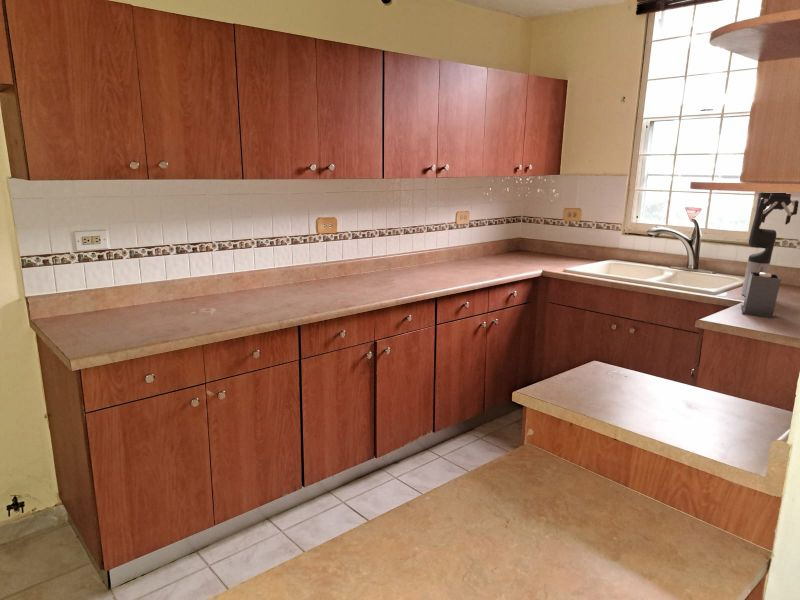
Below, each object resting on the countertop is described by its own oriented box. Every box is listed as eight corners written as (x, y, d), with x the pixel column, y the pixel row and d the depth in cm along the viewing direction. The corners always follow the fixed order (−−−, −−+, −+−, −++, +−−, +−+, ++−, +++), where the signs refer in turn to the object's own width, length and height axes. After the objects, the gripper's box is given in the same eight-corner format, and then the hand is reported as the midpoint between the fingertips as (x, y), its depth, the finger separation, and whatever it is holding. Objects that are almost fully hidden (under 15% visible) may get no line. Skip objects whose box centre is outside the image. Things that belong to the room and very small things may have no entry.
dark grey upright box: (741, 307, 264) (748, 271, 259) (771, 312, 259) (779, 274, 254) (742, 314, 253) (750, 276, 249) (774, 318, 248) (783, 279, 244)
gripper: (801, 186, 247) (792, 223, 252) (762, 183, 253) (755, 220, 258) (803, 187, 240) (794, 226, 245) (764, 185, 247) (756, 222, 251)
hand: (774, 223), depth 251 cm, fingers open, 8 cm apart
